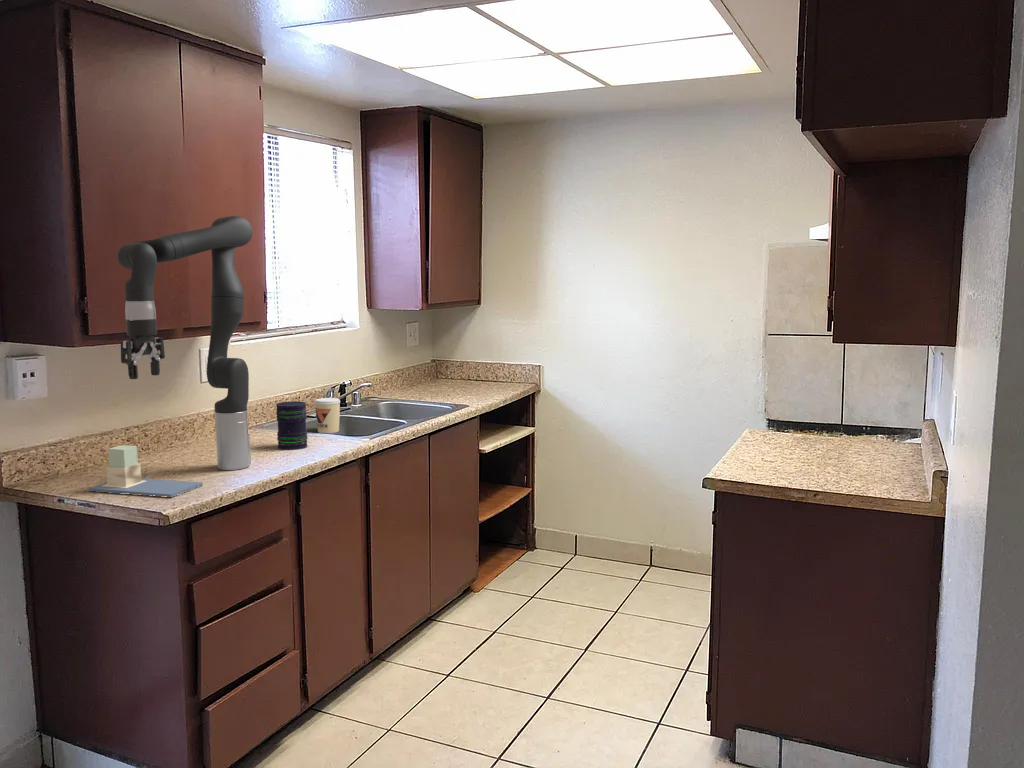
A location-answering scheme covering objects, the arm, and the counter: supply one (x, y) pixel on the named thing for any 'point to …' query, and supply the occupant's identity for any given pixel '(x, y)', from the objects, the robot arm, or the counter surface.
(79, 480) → the counter surface
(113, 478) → the maple block
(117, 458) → the sage block
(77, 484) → the counter surface
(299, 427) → the storage jar
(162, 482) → the board
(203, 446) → the counter surface
